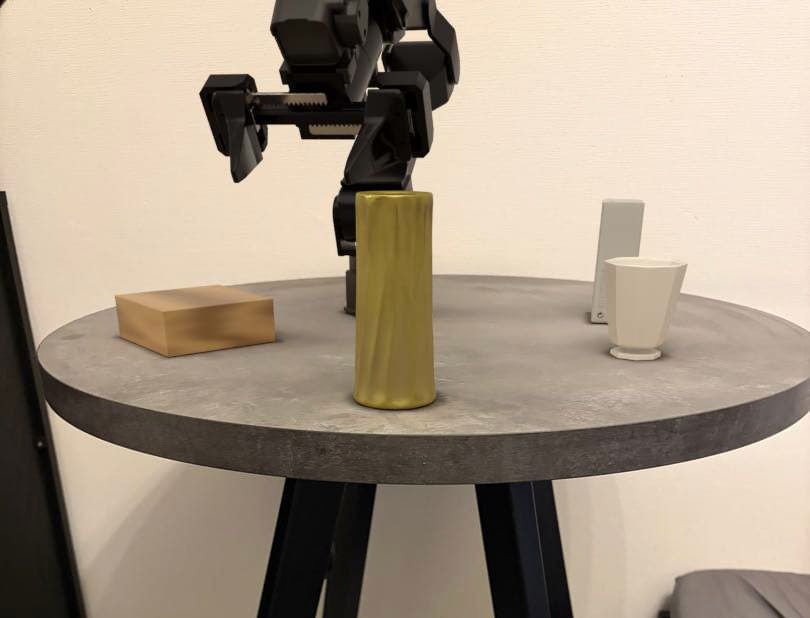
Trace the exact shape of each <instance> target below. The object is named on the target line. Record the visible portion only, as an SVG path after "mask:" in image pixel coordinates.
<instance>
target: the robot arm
mask: <svg viewBox="0 0 810 618" xmlns="http://www.w3.org/2000/svg"><path fill="white" fill-rule="evenodd" d="M269 31H270V32H269V33H270V34H271V36H272V37H273V38H274V40H275V42H276V45H277V47H278V50H279V52H280V54H281V56H282V59H283V61H282V63H281V65H280V67H279V69H278V72H279V73H278V74H279V77H280V82H281V84H282V86H287V87H288V91H267V92H266V91H263V92H262V91H261V92H260V91H258V87H257V83H256V79H255V78H254V77H253V76H252V75H251V74H249V73H215V74H212V73H211V74H209V75H208V77H207V79H206V80H205V82H204V83H203V85H202V87H201V89H200V91H199V93H198V95H199V98H200V102H201V105H202V108H203V110H204V114H205V117H206V120H207V122H208V126H209V129H210V132H211V134H212V137H213V140H214V144H215V146H216V149H217V151H218V152H219V154H222V155H223V156H224V157H226V158H227V157H228V158H229V169H230V170H229V171H230V175H231V178H232V182H233V184H240V183H241V182H242V181H244V180H245V179H246V178H247V177H248V176H249V175H250V174H251V173H252V172H253V171H254V170H255V169H256V167H257V166H259V165H260V164H261V162H262V161H263V160H264V156H263V153H264V152H265V151H266V149H267V147H268V144H269V127H268V126H295V127H296V128H298V132H299V136H300V140H302V141H303V140H305V141H306V140H307V141H309V140H311V141H313V140H314V141H318V140H320V141H325V140H326V141H327V140H329V141H330V140H331V141H333V140H334V141H348V140H349V141H354V142H353V145H352V146H351V149H350V151H349V154H348V155H347V158H346V161H345V165H344V169H343V178H342V179H341V180H340V186H341V187H340V188H339V191H338V193H337V194H336V195H335V196H334V197H333V198H334V199H333V202H332V210H331V213H332V215H331V216H332V224H333V230H334V232H333V233H334V238H335V244H336V252H337V256H338V257H347V256H348V269H346V271H345V303H346V304H345V305H344V306H343V311H344V312H347V313H350V314H352V315H355V316H356V205H355V200H356V193H357V192H365V191H414V187H413V180H412V174H413V172H414V168H415V165H416V162H417V159H424V158H425V157H427V156H428V154H429V153H430V152H431V149H432V145H433V142H434V135H435V134H434V131H435V127H434V119H433V118H434V117H433V111H436V110H437V109H440V108H441V107H443V106H444V105H446V104H448V102H449V101H450V100H451V97H452V94H453V92H454V90H455V86H458V84H459V82H460V77H461V58H460V57H461V56H460V50H459V45H458V38H457V32H456V29H455V27H454V26H453V25H452V24H451V23H450V22H449V20H448V19H447V18H446V17H445V16H444V15H443V14H442V13H441V11H439V10H438V8H437V2H436V0H275V2H274V6H273V11H272V16H271V21H270V26H269ZM408 31H411V32H412V31H413V32H414V31H426V33H427V35H428V38H430V40H410V41H409V40H406V41H405V40H404V41H403V40H402V39H403V38H404V37H405V36H406V32H408ZM401 40H402V41H401ZM379 59H380V60H381V63H382V67H383V70H384V71H379V65H378V62H379Z"/></svg>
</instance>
